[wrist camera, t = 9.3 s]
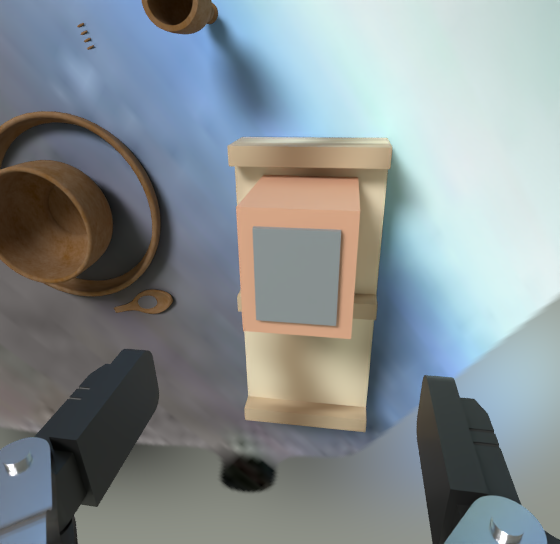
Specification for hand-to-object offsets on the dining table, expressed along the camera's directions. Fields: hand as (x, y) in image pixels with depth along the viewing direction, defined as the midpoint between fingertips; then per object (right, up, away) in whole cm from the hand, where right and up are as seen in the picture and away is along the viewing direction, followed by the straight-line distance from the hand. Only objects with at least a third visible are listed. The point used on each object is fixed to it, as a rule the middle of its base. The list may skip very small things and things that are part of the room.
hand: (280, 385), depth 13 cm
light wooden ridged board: (+2, +3, +15) cm, 15 cm away
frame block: (+2, +6, +11) cm, 13 cm away
